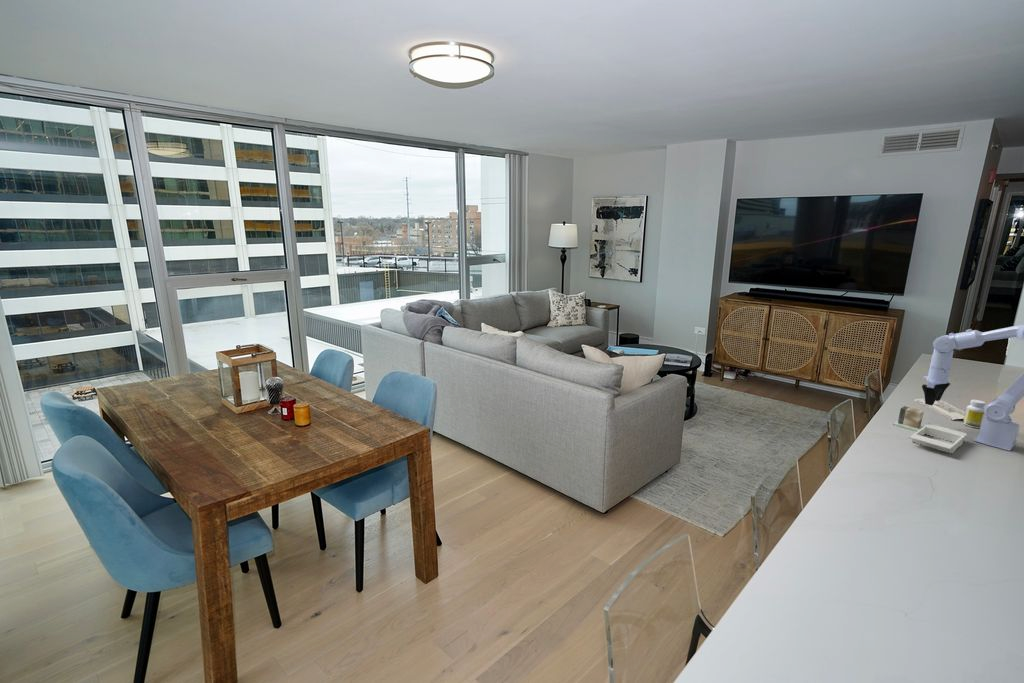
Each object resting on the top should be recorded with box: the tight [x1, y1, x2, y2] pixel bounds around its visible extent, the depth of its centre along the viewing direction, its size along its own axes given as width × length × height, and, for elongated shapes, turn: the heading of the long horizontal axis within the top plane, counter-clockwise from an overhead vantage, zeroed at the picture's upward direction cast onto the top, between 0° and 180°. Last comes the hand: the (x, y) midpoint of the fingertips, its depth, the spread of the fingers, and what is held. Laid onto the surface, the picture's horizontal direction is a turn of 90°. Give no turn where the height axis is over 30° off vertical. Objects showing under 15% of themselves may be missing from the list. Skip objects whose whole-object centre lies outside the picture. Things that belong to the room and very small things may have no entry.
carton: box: [908, 422, 968, 454], centre depth 174 cm, size 11×20×3 cm, turn 126°
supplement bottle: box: [962, 399, 986, 429], centre depth 188 cm, size 5×5×10 cm
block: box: [897, 405, 925, 428], centre depth 188 cm, size 6×4×6 cm, turn 36°
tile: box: [892, 420, 925, 432], centre depth 189 cm, size 8×7×1 cm
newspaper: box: [913, 397, 966, 421], centre depth 205 cm, size 23×12×2 cm, turn 174°
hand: (932, 402), depth 187 cm, fingers open, 7 cm apart
